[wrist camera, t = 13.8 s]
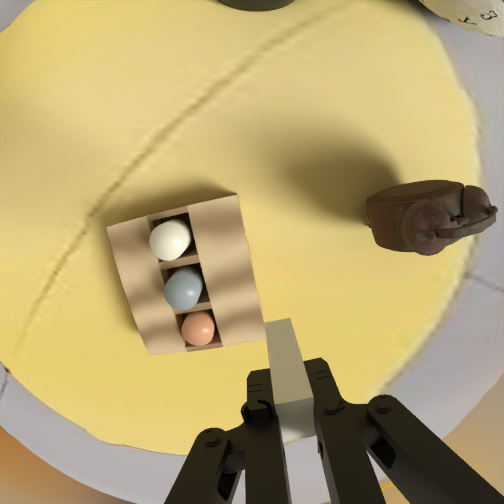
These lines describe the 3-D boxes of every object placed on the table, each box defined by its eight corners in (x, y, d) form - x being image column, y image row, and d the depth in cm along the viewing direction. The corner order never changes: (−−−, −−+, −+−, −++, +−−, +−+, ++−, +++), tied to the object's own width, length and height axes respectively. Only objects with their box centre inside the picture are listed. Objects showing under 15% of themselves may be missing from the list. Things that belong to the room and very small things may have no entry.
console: (120, 222, 38) (106, 227, 33) (237, 193, 38) (236, 195, 33) (157, 339, 43) (149, 355, 38) (264, 322, 43) (266, 339, 38)
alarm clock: (356, 243, 40) (435, 289, 21) (346, 197, 39) (428, 210, 19) (428, 218, 40) (517, 243, 20) (421, 176, 38) (513, 180, 18)
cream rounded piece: (156, 223, 35) (145, 228, 31) (187, 215, 35) (180, 219, 31) (164, 254, 36) (154, 263, 32) (195, 248, 36) (188, 256, 32)
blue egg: (168, 269, 37) (159, 280, 32) (199, 263, 37) (193, 273, 32) (177, 298, 38) (169, 312, 34) (206, 293, 38) (202, 307, 33)
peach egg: (183, 306, 40) (177, 320, 36) (212, 302, 40) (208, 315, 36) (191, 332, 41) (186, 347, 37) (219, 327, 41) (216, 343, 37)
